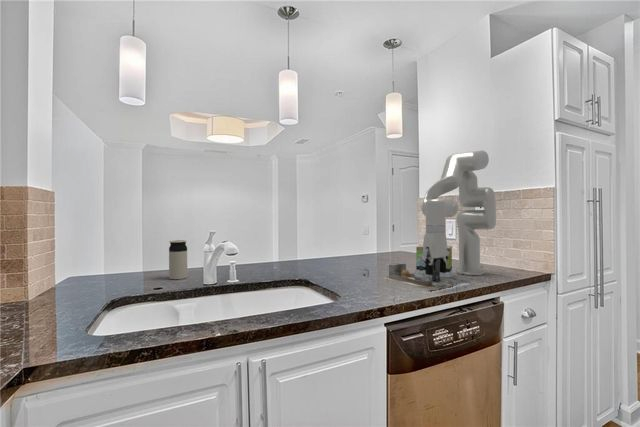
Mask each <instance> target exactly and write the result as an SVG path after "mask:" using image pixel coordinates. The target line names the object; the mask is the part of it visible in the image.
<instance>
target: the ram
mask: <svg viewBox="0 0 640 427" xmlns="http://www.w3.org/2000/svg"><path fill="white" fill-rule="evenodd" d="M432 265H433V275H432V276H431V277H432V278H429V277H430V276H429V275H427V274H426V273H416V272H415V273H414V274H415V279H416V280H421V281H426V282H430V286H435V287H438V288H440V287H439V286H443V287H445V286H444V285H448V283H449V281H448V280H446V279H443V280H441V277H440V258H436V259H434V260H433V263H432ZM448 286H449V285H448Z"/></svg>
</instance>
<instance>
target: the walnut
mask: <svg viewBox="0 0 640 427" xmlns="http://www.w3.org/2000/svg"><path fill="white" fill-rule="evenodd" d="M409 276H410V271H409V270H408V269H406V270H402V271H401V277H406V278H409Z"/></svg>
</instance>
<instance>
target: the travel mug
mask: <svg viewBox="0 0 640 427" xmlns="http://www.w3.org/2000/svg"><path fill="white" fill-rule="evenodd" d="M186 243H187V240H185V239H184V240H183V239H182V240H179V239H178V240H170V241H169V245H170V246H169V247H168V270H169V271H168V272H169V273H168V279H169V280H172V279H179V280H184V279H183V278H185V279H187V278H188V246H187V244H186Z"/></svg>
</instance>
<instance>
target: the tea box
mask: <svg viewBox="0 0 640 427" xmlns="http://www.w3.org/2000/svg"><path fill="white" fill-rule="evenodd" d="M447 250H448V251H449V256H448V259H447V263H446V273H441V272H440V278H441V277H442V278H451V277H452V275H453V265H452V264H453V246H450V245H447ZM415 253H416V256H415V257H416V261H415V262H416V263H415V267H416V268H415V274H416V273H426V272H425V264H424V261H423V259H422V257H421V255H422V253H423V244H419V245H417V246H416V252H415ZM429 261H430V259H429ZM429 277H432V275H429Z"/></svg>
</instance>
